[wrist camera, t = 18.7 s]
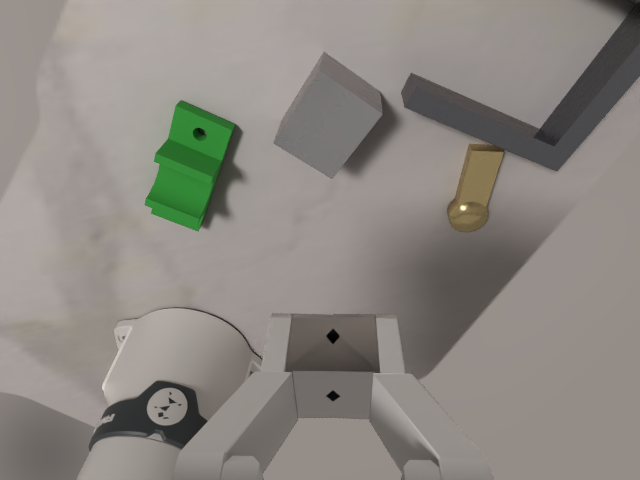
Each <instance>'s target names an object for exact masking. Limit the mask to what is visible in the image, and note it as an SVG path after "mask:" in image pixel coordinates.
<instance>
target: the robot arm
mask: <svg viewBox="0 0 640 480" xmlns="http://www.w3.org/2000/svg"><path fill="white" fill-rule="evenodd" d="M114 334H115V338H116V342H117V347H118V353H117V355H116V357H115V360H114V362H113V364H112V366H111V368H110V370H109V372H108V374H107V376H106V378H105V380H104V383H103V386H102V389H103V390H104V396H105V398H106V400H107V402H108V408H107V409H106V410H105V412H104V414H103V416H102V418H101V420H100V421H99V422H98V424H97V426H96V428H95V430H94V433H93V434H94V435H93V437H92V439H91V441H90V444H89V450H90V453H89V455H88V458H87V459H86V461H85V463H84V465H83V467H82V469H81V471H80V473H79V475H78V477H77V480H264V479H263V475H262V474H263V473H264V471H265V470H266V468H267V466H268V465H269V463H270V462H271V460H272V459H273V457H274V456H275V454H276V452H277V451H278V450H279V448H280V447H281V445H282V444H283V442H284V441H285V439H286V437H287V436H288V434H289V433H290V431H291V430H292V428H293V427H294V425H295V424H296V422H297V421H298V418H333V417H334V418H353V419H370V423H371V424H372V426H373V427H374V429H375V431H376V432H377V434H378V436H379V437H380V439H381V440H382V442H383V444H384V445H385V447H386V449H387V450H388V452H389V453H390V455H391V457H392V458H393V460H394V461H395V463H396V465H397V466H398V468H399V469H400V471H401V473H402V477H401V480H494V478H493V474H492V471H491V467H490V464H489V461H488V459H487V458H486V457H485V456H484V455H483V453H482V452H481V451H480V450H479V449H478V448H477V447H476V445H475V444H474V443H473V442H472V441H471V440H470V439H469V437H468V436H467V435H466V434H465V433H464V432H463V431H462V430H461V428H460V427H459V426H458V425H457V424H456V423H455V422H454V420H453V419H452V418H451V417H450V416H449V415H448V414H447V413H446V411H445V410H444V409H443V408H442V407H441V406H440V405H439V403H438V402H437V401H436V400H435V399H434V398H433V397H432V396H431V394H430V393H429V392H428V391H427V390H426V389H425V387H424V386H423V385H422V384H421V383H420V382H419V381H418V380H417V378H416V377H415V376H414V375H413V374H407V373H406V371H405V364H404V357H403V351H402V344H401V337H400V331H399V324H398V318H397V316H396V314H375V315H374V314H333V315H323V314H282V313H272V315H271V317H270V320H269V326H268V331H267V337H266V342H265V348H264V354H263V359H260V358H259V357H258V356H257V355H256V354H254V353H253V352H252V351H251V349H250V348H249V346H248V344H247V342H246V341H245V339H244V338H243V336H242V335H241V334H240V333H239V332H238V331H237V330H236V329H235V328H233V327H232V326H231V325H229V324H228V323H226V322H224V321H223V320H221V319H219V318H217V317H214V316H212V315H209V314H206V313H203V312H200V311H195V310H190V309H181V308H170V309H162V310H157V311H154V312H151V313H149V314H147V315H145V316H143V317H141V318H139V319H131V320H123V321H119V322H118V323H117V325H116V327H115V329H114Z"/></svg>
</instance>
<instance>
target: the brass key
mask: <svg viewBox="0 0 640 480" xmlns="http://www.w3.org/2000/svg"><path fill="white" fill-rule="evenodd" d="M503 154H504V151H503V150H502V148H500V147H498V146H495V145H482V144H469V146H468V150H467V154H466V157H465V161H464V165H463V169H462V173H461V177H460V180H459V184H458V188H457V192H456V196H455V199H454V200H453V201H452V202H451V203H450V204H449V206H448V209H447V214H448V218H449V221H450V224H451V226H452V227H453V228H454V229H455V230H457V231H460V232H471V231H475V230H477V229H479V228H480V227H482V226H483V225H484V224H485V222H486V221H487V218H488V211H487V208H486V207H487V204H488V200H489V197H490V194H491V191H492V188H493V185H494V182H495V179H496V176H497V173H498V169H499V166H500V163H501V160H502V157H503Z"/></svg>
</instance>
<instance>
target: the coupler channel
mask: <svg viewBox="0 0 640 480" xmlns="http://www.w3.org/2000/svg"><path fill="white" fill-rule="evenodd" d="M629 1H630V2H632V3H634V4H636V6H635V7H634V8H633V10H632V11H631V12H630V13H629V15H628V16H627V17H626V19H625V20H624V21H623V22H622V24H621V25H620V26H619V28H618V29H617V30H616V31H615V33H614V34H613V35H612V37H611V38H610V39H609V40H608V42H607V43H606V44H605V46H604V47H603V48H602V50H601V51H600V52H599V53H598V55H597V56H596V57H595V59H594V60H593V61H592V62H591V64H590V65H589V66H588V68H587V69H586V70H585V71H584V73H583V74H582V75H581V77H580V78H579V79H578V80H577V82H576V83H575V84H574V86H573V87H572V88H571V89H570V91H569V92H568V93H567V95H566V96H565V97H564V99H563V100H562V101H561V102H560V104H559V105H558V106H557V108H556V109H555V110H554V111H553V113H552V114H551V115H550V117H549V118H548V119H547V120H546V122H545V123H544V124H543V126H542V127H541V128H540V129H538V128H536V127H533V126H531V125H529V124H527V123H524V122H522V121H520V120H518V119H515V118H513V117H511V116H508V115H506V114H504V113H502V112H499V111H497V110H495V109H492V108H490V107H488V106H486V105H483V104H481V103H479V102H476V101H474V100H472V99H470V98H467V97H465V96H463V95H460V94H458V93H456V92H454V91H451V90H449V89H447V88H444V87H442V86H440V85H438V84H435V83H433V82H431V81H428V80H426V79H424V78H422V77H419V76H417V75H415V74H412V73H411V74H410V76H409V78H408V80H407V82H406V84H405V86H404V88H403V90H402V92H401V94H402V98H403V102H404V107H405V108H407V109H410V110H412V111H415V112H417V113H419V114H422V115H424V116H426V117H429V118H431V119H434V120H436V121H438V122H441V123H443V124H445V125H448V126H450V127H453V128H455V129H457V130H460V131H462V132H464V133H467V134H469V135H472V136H474V137H476V138H479V139H481V140H483V141H486V142H488V143H491V144H493V145H495V146H498V147H500V148H503V149H505V150H507V151H510V152H512V153H514V154H517V155H519V156H522V157H524V158H526V159H529V160H531V161H533V162H536V163H538V164H541V165H543V166H545V167H548V168H550V169H552V170H555V171H558V170H559V169H560V167H561V166H562V165H563V164H564V163H565V162H566V160H567V159H568V158H569V157H570V156H571V155H572V154H573V152H574V151H575V150H576V149H577V148H578V147H579V145H580V144H581V143H582V142H583V141H584V140H585V138H586V137H587V136H588V135H589V134H590V133H591V132H592V130H593V129H594V128H595V127H596V126H597V125H598V123H599V122H600V121H601V120H602V119H603V118H604V117H605V115H606V114H607V113H608V112H609V111H610V110H611V108H612V107H613V106H614V105H615V104H616V103H617V102H618V100H619V99H620V98H621V97H622V96H623V95H624V93H625V92H626V91H627V90H628V89H629V88H630V86H631V85H632V84H633V83H634V82H635V81H636V80H637V78H638V77H639V76H640V0H629Z"/></svg>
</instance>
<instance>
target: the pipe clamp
mask: <svg viewBox="0 0 640 480" xmlns="http://www.w3.org/2000/svg"><path fill="white" fill-rule="evenodd" d="M234 127H235V124H233V123H231V122H229V121H226V120H224V119H222V118H220V117H217V116H215V115H213V114H211V113H208V112H206V111H204V110H202V109H199V108H197V107H195V106H193V105H190V104H188V103H186V102H184V101H180V102H179V103H178V104H177V105H176V107H175V112H174V116H173V120H172V125H171V129H170V133H169V138H168V140H167V141H166V142H165V143H164V144H163V145H162V147H161V148H160V149H159V150H158V151H157V153H156V154H155V159H154V162H156V163H159V164H160V166H159V171H158V174H157V177H156V180H155V183H154V185H153V187H152V189H151V191H150V193H149V195H148V196H147V198H146V201H145V205H146V206H148V207H151V208H152V212H151V214H154V215H156V216H159V217H162V218H164V219H167V220H169V221H172V222H175V223H177V224H180V225H183V226H185V227H188V228H190V229H193V230H196V231H199V229H200V227H201V225H202V222H203V219H204V216H205V214H206V211H207V208H208V205H209V202H210V199H211V196H212V193H213V190H214V187H215V184H216V181H217V178H218V175H219V172H220V169H221V166H222V163H223V160H224V157H225V154H226V151H227V148H228V145H229V142H230V139H231V136H232V133H233V130H234ZM197 128H201V129H203V130H204V131H205V132H206V134H207V135H202V134H200V133H199V131H198V130H197Z"/></svg>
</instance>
